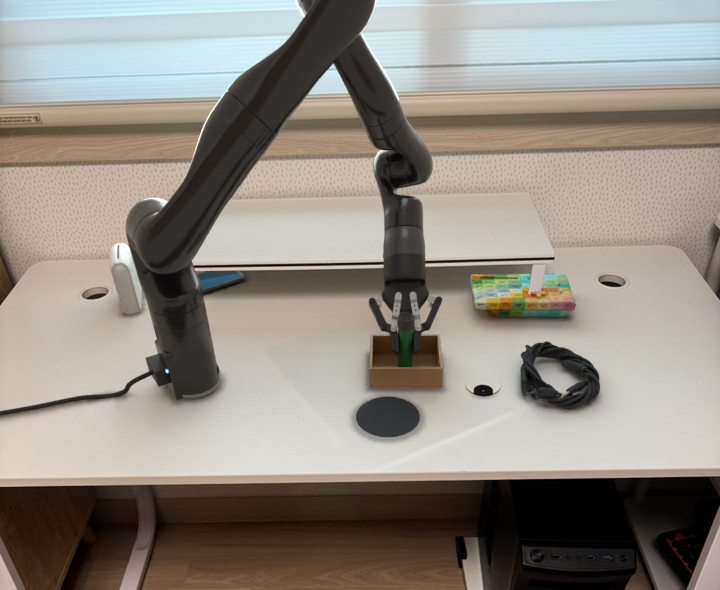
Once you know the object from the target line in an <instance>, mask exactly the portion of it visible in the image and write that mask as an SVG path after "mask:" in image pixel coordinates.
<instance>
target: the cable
mask: <svg viewBox="0 0 720 590" xmlns="http://www.w3.org/2000/svg"><path fill="white" fill-rule="evenodd" d="M524 347H525V350H524V351H522V352H521V353H520V358H521V359H522V365H521V366H520V388H521V393H522V395H523V396H525V397H526V396H531V395H532V396H533V397H534V398H535V399H538V398H539V399H541V400H544V401H546V402H547V403H549V404H551V405H555V406H557V407H559V408H563V409H575V408H577V407H580V406H582V405H584V404H587V403H590V402H592V401H593V400H595V399H596V398H597V396H598V395H599V393H600V391H601V383H600V374H599V371H598V370H597V368H596V367H595V366H594V363H592V362H591V361H590V360H589V359H587V358H585V357H583V356H582V355H580V354H577V353H575V352H574V351H573V350H571V349H569V348H567V347H564V346H558V345H556V344H553V343H552V342H550V341H548V340H546V341H544V342H536V343H534V344H533V345H532V346H531V345H529V344H525V346H524ZM537 358H545V359H546V358H547V359H555V360H559V361H560V362H561V364H562V365H563V366H564V367H565V368H568V369H571V370H573V371H576V372H579V373H580V374H581V376H583V377H586V378H587V379H586V380H583V381H578V382H576V383H575V384H573V385H571V386H569V387H568V388H566V389H565V392H563V393H562V392H559V391H558V390H557V389H556V388H555V387H554V388H553V387H552V386H551V385H549V384H548V383H547V382H546V381H545V380H543V379H542V376H541V375H540V373H539V370H538V369H537V368H536V367H535V362H536V360H537ZM584 389H585V390H584ZM582 390H584V391H583V392H581V391H582ZM578 392H581V393H578Z"/></svg>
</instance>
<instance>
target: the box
mask: <svg viewBox="0 0 720 590" xmlns="http://www.w3.org/2000/svg"><path fill="white" fill-rule="evenodd" d="M369 337H370V338H369V366H368V367H369V370H368V372H369V373H368V375H369V377H368V378H369V388H442V387H443V376H444V375H443V374H444V365H443V355H442V354H443V353H442V344H441V335H440V333H439V334H435V333H434V334H433V333H432V334H431V333H429V334H427V333H426V334H425V333H423V334H422V333H421V346H422V347H421V350H420V351H418V354H417V355H413V365H412V367H397V359H398V355H394V352H392V351H391V347H390V334H389V333H388V334H384V333H383V334H381V333H380V334H377V333H376V334H370V336H369Z"/></svg>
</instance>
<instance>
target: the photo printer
mask: <svg viewBox="0 0 720 590" xmlns="http://www.w3.org/2000/svg"><path fill="white" fill-rule="evenodd" d="M109 269H110V273H111V277H112V279H113V283H114V287H115V290H116V293H117V297H118V300H119V303H120V308H121V310H122V312H123V313H124V314H126V315H135V314H138V313H139V312H141V311H142V308H143V307H142V306H143V290H142V287H141V285H140V282H139V279H138V275H137V272H136V268H135V265H134V262H133V258H132V255H131V251H130V248H129V245H127V244H126V243H124V242H119V243H118V242H117V243H114V245H113V246H112V247H111V249H110V252H109Z"/></svg>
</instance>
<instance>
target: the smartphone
mask: <svg viewBox="0 0 720 590" xmlns="http://www.w3.org/2000/svg"><path fill="white" fill-rule="evenodd" d="M196 274H197V276H198V278H199V281H200V283H201V287H202V292H203V294H207V293H209V292H212V291H216V290H219V289H221V288H224V287H227V286H230V285H233V284H237V283H240V282H242V281H244V280H245V279H246V276H245V274H244V273H242V272H241V271H240V270H239V271H230V272H229V271H208V270H205V271H202V272H198V273H196Z"/></svg>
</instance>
